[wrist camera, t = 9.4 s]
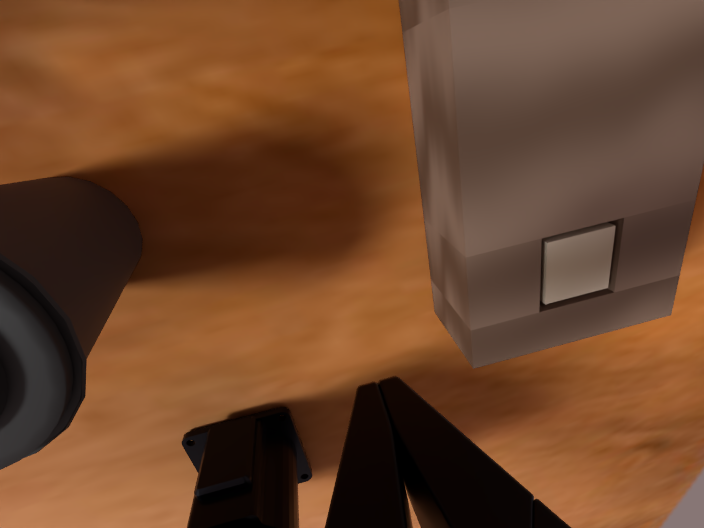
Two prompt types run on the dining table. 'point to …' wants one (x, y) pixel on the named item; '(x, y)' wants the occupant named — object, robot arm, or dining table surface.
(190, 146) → the dining table surface
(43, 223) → the coffee cup
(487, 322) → the grey peg board
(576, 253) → the peg
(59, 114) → the dining table surface
